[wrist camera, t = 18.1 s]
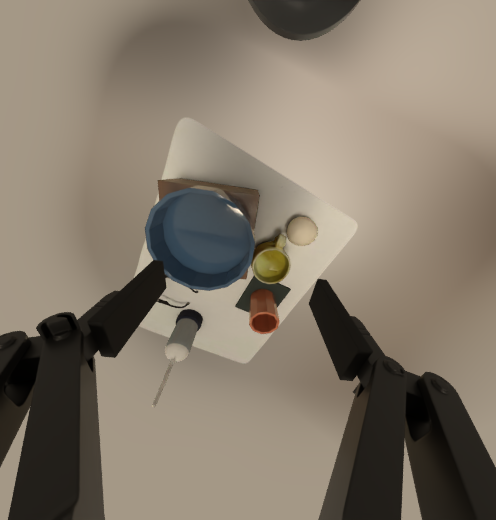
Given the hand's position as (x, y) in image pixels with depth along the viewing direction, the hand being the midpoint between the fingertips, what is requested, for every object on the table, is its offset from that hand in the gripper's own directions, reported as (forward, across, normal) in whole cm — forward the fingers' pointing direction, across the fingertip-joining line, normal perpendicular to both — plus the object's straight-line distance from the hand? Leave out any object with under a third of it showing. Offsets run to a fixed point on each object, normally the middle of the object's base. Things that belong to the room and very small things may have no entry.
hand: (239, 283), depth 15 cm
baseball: (+32, +13, -3) cm, 35 cm away
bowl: (+20, -8, -4) cm, 22 cm away
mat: (+31, +8, -26) cm, 42 cm away
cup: (+31, +8, -27) cm, 41 cm away
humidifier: (+31, -15, -39) cm, 52 cm away
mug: (+32, +7, -10) cm, 34 cm away
